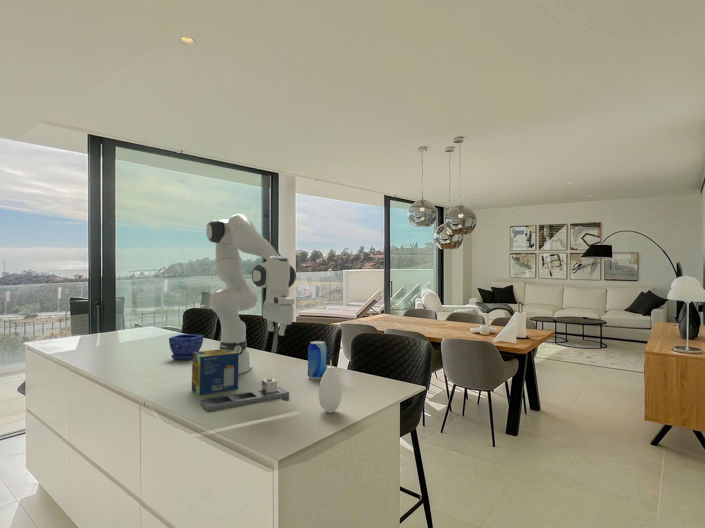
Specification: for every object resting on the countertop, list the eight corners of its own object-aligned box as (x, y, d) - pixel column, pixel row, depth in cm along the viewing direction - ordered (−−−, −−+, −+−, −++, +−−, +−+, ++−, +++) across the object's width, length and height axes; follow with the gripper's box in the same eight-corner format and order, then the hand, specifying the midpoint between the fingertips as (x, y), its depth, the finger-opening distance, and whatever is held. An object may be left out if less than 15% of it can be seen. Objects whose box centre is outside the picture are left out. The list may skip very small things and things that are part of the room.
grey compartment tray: (200, 406, 143) (200, 399, 143) (278, 392, 161) (278, 386, 161) (207, 414, 136) (208, 406, 136) (289, 398, 154) (289, 392, 154)
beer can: (303, 377, 183) (304, 342, 184) (317, 374, 189) (318, 339, 190) (316, 381, 178) (317, 344, 178) (330, 378, 184) (330, 342, 184)
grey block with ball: (261, 394, 154) (261, 379, 154) (271, 392, 157) (272, 377, 157) (266, 397, 151) (266, 381, 151) (276, 395, 153) (277, 380, 153)
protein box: (191, 391, 161) (191, 351, 162) (229, 385, 170) (230, 347, 171) (198, 398, 153) (199, 356, 153) (238, 391, 162) (239, 352, 162)
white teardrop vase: (314, 414, 138) (315, 360, 138) (324, 406, 145) (325, 356, 145) (336, 417, 135) (336, 362, 135) (344, 410, 142) (345, 358, 142)
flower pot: (181, 355, 228) (181, 333, 228) (203, 356, 226) (204, 334, 226) (167, 360, 215) (168, 337, 215) (191, 361, 213) (191, 338, 213)
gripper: (259, 295, 166) (257, 329, 166) (281, 300, 149) (279, 338, 149) (273, 295, 170) (272, 328, 170) (296, 300, 153) (295, 337, 153)
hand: (275, 333), depth 160 cm, fingers open, 8 cm apart
